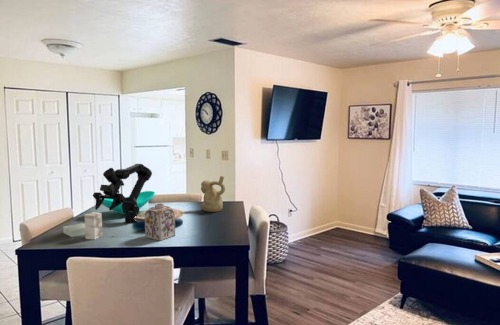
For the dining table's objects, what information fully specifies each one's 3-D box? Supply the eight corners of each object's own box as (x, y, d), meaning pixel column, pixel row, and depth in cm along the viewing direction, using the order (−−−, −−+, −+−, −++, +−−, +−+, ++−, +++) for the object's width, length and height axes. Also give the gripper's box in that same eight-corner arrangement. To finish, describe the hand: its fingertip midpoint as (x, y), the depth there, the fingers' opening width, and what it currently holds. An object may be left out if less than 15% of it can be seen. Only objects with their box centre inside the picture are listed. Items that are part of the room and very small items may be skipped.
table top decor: (103, 221, 233) (103, 201, 232) (92, 214, 255) (91, 195, 254) (162, 212, 257) (161, 194, 256) (146, 206, 279) (146, 189, 278)
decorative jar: (160, 232, 207) (159, 201, 206) (175, 235, 202) (175, 203, 200) (144, 238, 197) (143, 205, 196) (160, 241, 191) (159, 207, 190)
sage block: (85, 229, 217) (84, 222, 217) (93, 233, 209) (93, 226, 208) (63, 233, 208) (63, 226, 208) (71, 237, 200) (71, 230, 200)
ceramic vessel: (207, 207, 275) (206, 173, 273) (230, 209, 267) (230, 175, 265) (194, 211, 260) (194, 176, 257) (219, 214, 252) (218, 177, 249)
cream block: (93, 235, 203) (92, 212, 202) (102, 236, 201) (101, 213, 200) (85, 238, 197) (84, 214, 196) (95, 239, 195) (93, 215, 194)
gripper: (93, 178, 212) (81, 201, 202) (121, 179, 206) (109, 202, 197) (103, 189, 220) (91, 211, 210) (130, 191, 215) (119, 213, 205)
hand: (102, 209), depth 205 cm, fingers open, 9 cm apart
